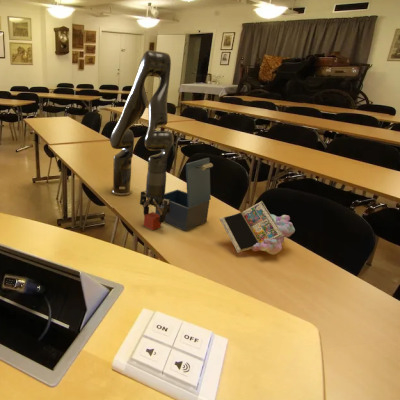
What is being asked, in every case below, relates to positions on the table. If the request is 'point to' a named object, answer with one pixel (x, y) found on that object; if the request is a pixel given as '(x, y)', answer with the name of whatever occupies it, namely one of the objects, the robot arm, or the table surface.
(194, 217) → the hinged navy chest
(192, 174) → the lid
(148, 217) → the block
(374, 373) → the table surface
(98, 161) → the table surface
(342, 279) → the table surface
